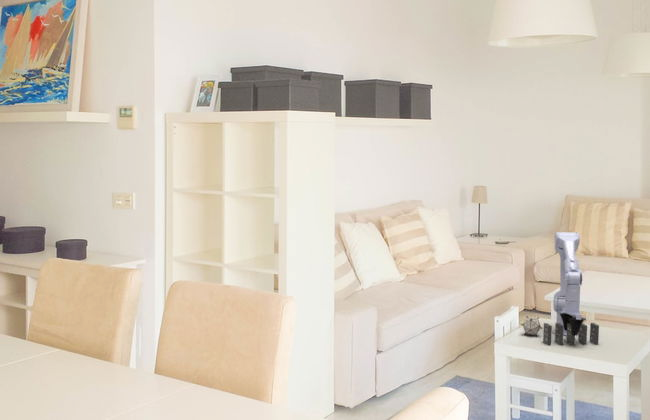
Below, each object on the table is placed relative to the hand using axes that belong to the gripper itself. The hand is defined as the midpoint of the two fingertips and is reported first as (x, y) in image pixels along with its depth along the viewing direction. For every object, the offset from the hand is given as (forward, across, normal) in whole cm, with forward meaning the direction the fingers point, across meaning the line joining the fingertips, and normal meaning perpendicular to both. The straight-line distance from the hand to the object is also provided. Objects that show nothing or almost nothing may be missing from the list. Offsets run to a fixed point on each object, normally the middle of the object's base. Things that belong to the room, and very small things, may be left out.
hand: (570, 332), depth 313 cm
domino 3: (+4, 0, 0) cm, 4 cm away
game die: (+5, -14, -12) cm, 19 cm away
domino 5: (+4, 0, +10) cm, 11 cm away
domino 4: (+4, 0, +5) cm, 7 cm away
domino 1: (+4, 0, -10) cm, 11 cm away
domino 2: (+4, 0, -5) cm, 7 cm away
